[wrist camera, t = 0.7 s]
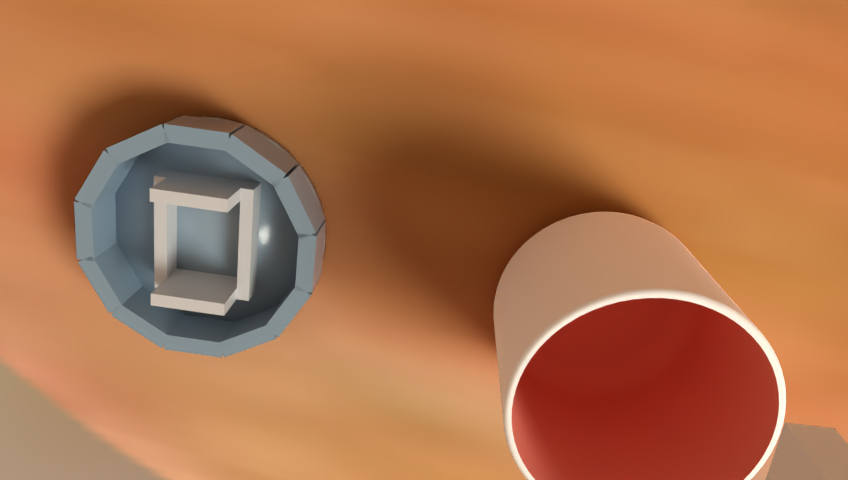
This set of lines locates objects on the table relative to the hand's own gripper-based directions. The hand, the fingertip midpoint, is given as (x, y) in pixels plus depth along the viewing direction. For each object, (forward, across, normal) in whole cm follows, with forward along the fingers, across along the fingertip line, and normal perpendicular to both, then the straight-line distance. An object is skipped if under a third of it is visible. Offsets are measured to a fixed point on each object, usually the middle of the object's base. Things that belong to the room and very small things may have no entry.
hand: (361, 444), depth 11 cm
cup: (+22, +9, -7) cm, 25 cm away
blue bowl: (+22, -10, -5) cm, 25 cm away
